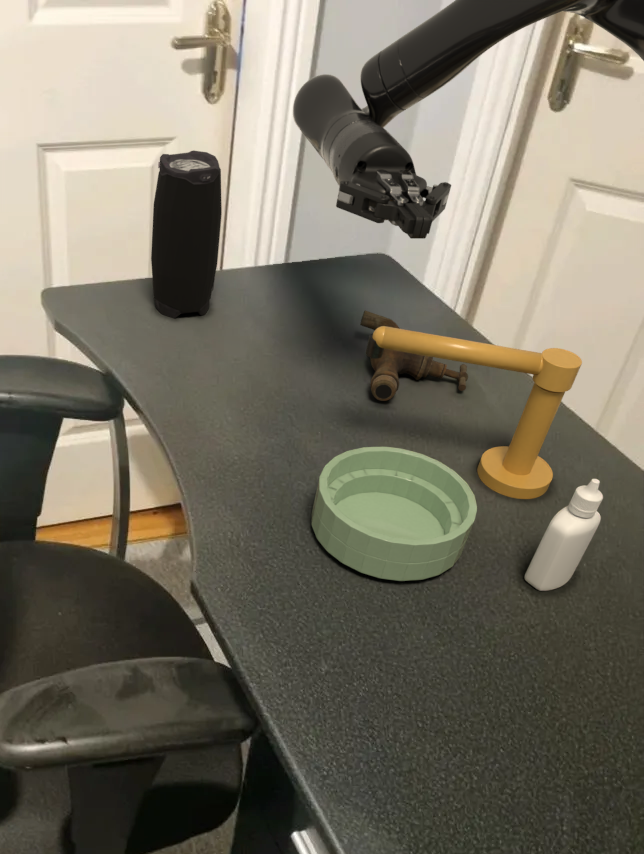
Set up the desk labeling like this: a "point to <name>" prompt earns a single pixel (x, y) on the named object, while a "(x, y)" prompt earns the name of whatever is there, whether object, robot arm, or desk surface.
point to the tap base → (523, 451)
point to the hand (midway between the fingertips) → (421, 229)
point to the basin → (392, 513)
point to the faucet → (403, 364)
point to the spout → (482, 355)
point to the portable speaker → (186, 232)
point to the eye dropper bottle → (566, 539)
